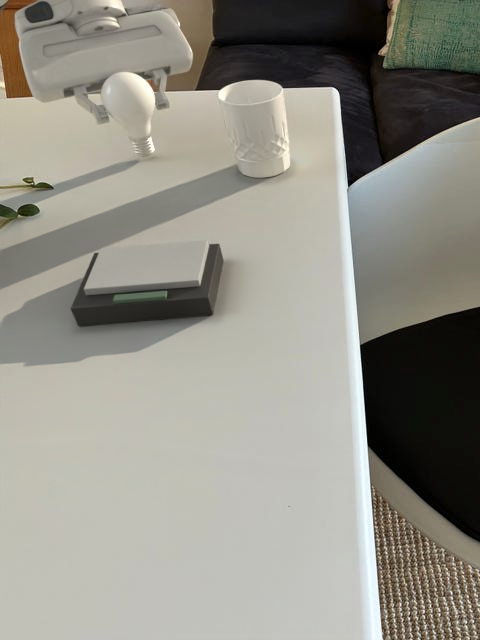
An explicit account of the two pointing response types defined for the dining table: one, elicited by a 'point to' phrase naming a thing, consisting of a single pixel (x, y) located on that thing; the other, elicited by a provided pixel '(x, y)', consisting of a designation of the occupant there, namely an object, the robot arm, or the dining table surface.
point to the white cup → (256, 126)
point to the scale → (149, 283)
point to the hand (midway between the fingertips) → (133, 114)
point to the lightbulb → (131, 108)
